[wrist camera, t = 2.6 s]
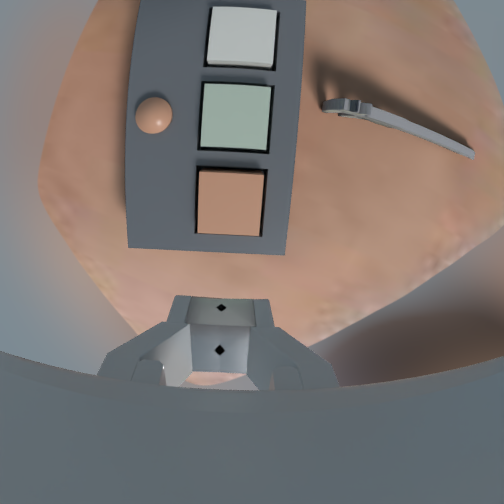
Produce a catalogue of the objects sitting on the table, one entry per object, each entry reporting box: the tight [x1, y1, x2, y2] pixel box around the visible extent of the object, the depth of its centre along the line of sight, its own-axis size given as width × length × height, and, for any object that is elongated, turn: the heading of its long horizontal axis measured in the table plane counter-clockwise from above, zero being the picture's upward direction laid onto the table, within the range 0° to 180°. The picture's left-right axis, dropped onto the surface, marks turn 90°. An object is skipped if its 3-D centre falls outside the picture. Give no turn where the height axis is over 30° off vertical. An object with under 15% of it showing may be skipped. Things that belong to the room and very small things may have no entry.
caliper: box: [322, 98, 475, 160], centre depth 24 cm, size 20×1×6 cm, turn 83°
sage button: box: [201, 84, 271, 150], centre depth 23 cm, size 5×5×3 cm
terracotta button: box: [198, 168, 264, 236], centre depth 25 cm, size 5×5×3 cm
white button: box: [207, 7, 277, 71], centre depth 20 cm, size 5×5×3 cm
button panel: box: [125, 0, 306, 255], centre depth 23 cm, size 23×14×5 cm, turn 176°
